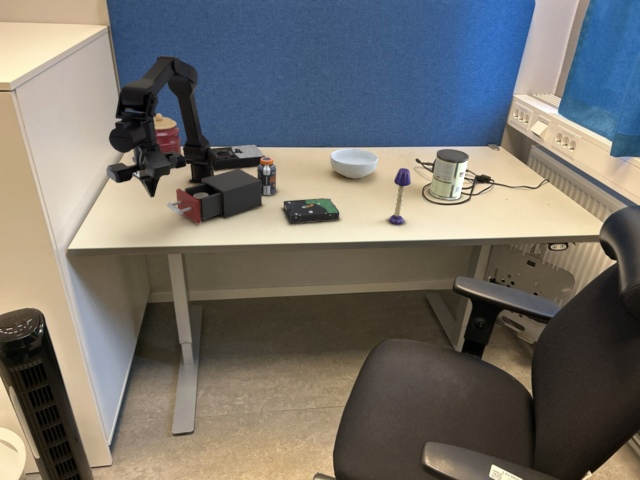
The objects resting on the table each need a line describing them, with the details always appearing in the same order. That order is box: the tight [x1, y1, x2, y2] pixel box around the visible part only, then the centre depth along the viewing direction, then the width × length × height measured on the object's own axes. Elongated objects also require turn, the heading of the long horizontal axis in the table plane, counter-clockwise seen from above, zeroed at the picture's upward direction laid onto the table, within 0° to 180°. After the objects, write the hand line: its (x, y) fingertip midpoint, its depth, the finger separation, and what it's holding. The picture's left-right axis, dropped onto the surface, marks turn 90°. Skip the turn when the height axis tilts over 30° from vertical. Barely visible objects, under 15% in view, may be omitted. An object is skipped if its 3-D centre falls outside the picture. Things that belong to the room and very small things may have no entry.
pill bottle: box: [256, 156, 277, 196], centre depth 150 cm, size 6×6×11 cm
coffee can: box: [429, 148, 470, 201], centre depth 156 cm, size 10×10×14 cm
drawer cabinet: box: [202, 168, 263, 219], centre depth 141 cm, size 13×11×8 cm
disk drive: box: [283, 198, 340, 224], centre depth 140 cm, size 10×3×15 cm
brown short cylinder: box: [193, 192, 209, 212], centre depth 134 cm, size 4×4×4 cm
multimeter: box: [211, 144, 266, 171], centre depth 172 cm, size 13×19×5 cm
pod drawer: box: [166, 183, 223, 225], centre depth 134 cm, size 17×10×7 cm, turn 134°
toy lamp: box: [388, 167, 411, 226], centre depth 135 cm, size 5×5×17 cm
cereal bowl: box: [329, 148, 379, 179], centre depth 168 cm, size 17×17×7 cm
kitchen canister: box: [154, 113, 183, 155], centre depth 165 cm, size 13×13×18 cm
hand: (152, 196), depth 123 cm, fingers closed
